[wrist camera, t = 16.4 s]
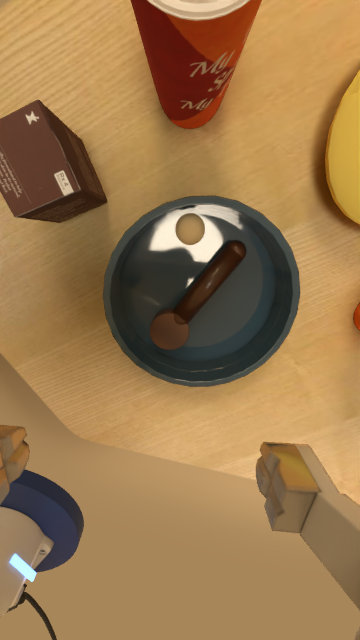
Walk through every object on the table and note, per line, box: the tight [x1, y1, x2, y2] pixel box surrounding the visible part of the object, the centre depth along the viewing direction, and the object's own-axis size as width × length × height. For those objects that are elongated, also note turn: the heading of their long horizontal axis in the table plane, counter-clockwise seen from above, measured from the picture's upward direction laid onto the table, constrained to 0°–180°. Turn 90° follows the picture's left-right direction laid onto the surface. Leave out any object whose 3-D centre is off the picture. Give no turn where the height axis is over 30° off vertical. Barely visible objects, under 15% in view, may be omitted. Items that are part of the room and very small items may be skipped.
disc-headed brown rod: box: [150, 240, 247, 350], centre depth 26 cm, size 15×5×2 cm, turn 142°
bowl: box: [103, 196, 300, 387], centre depth 25 cm, size 19×19×5 cm
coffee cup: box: [131, 0, 262, 129], centre depth 14 cm, size 8×8×15 cm
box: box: [0, 100, 107, 223], centre depth 20 cm, size 6×6×7 cm
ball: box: [175, 213, 205, 245], centre depth 23 cm, size 3×3×3 cm
